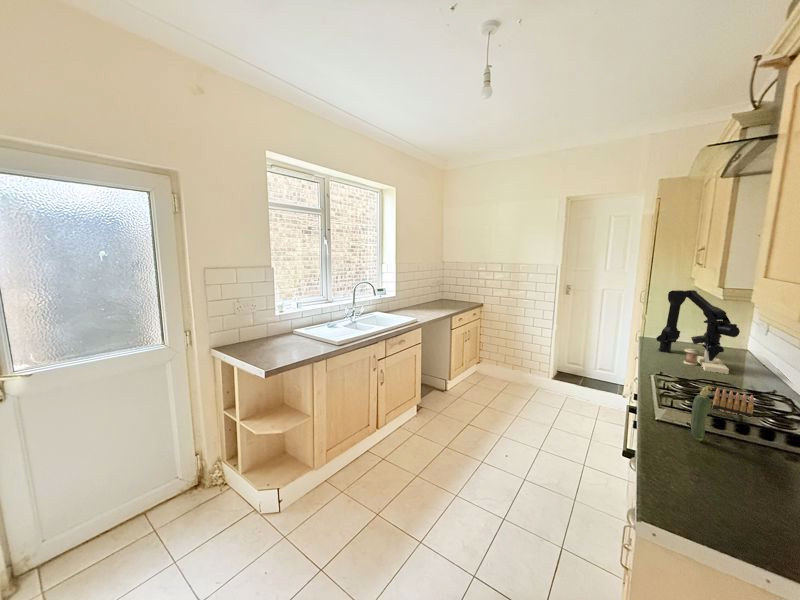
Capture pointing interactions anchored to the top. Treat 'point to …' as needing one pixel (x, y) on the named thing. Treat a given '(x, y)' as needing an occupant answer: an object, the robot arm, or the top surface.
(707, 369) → the notched board
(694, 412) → the vegetable
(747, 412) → the ammunition clip
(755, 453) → the top surface
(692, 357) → the bobbin
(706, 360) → the block
